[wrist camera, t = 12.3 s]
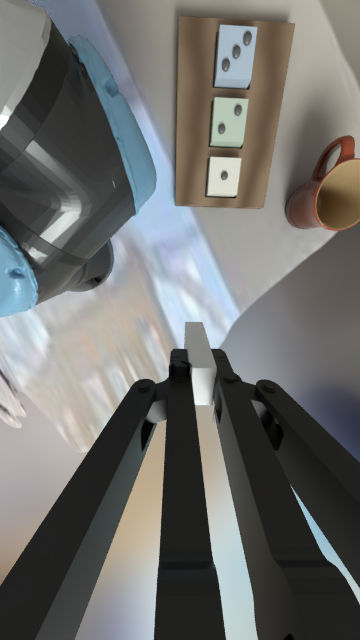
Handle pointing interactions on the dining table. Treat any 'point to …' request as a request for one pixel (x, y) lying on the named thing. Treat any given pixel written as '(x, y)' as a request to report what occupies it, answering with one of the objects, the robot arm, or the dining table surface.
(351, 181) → the mug
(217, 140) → the tile two
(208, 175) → the tile one
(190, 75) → the board
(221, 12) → the dining table surface
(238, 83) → the tile three
